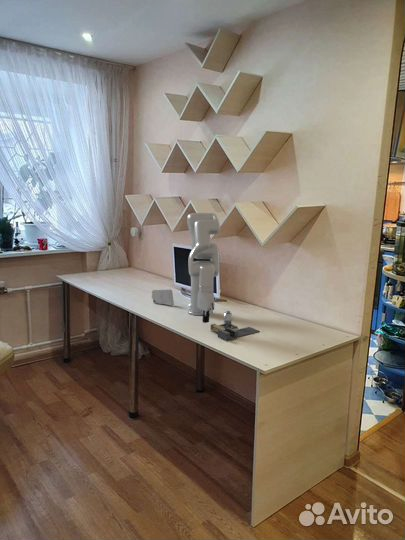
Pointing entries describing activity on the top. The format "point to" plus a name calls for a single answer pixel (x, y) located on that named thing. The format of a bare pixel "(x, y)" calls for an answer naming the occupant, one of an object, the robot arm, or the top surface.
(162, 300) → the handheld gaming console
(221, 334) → the socket block
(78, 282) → the top surface
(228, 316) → the peg
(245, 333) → the mat
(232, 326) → the socket collar
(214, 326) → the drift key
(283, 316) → the top surface
